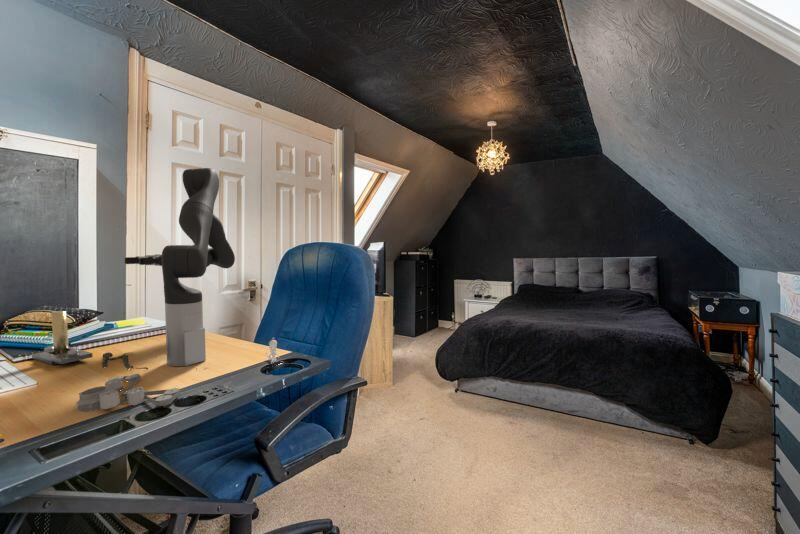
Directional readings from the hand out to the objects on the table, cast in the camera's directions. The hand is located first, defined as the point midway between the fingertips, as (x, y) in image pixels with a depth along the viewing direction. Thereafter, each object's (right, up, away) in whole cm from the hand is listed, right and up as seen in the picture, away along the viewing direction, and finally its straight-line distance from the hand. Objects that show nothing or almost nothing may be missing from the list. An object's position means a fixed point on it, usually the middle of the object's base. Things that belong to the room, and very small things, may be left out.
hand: (132, 261), depth 121 cm
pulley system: (+26, -31, -39) cm, 56 cm away
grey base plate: (-11, -29, -13) cm, 33 cm away
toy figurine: (+50, -29, -14) cm, 60 cm away
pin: (-11, -29, -13) cm, 33 cm away
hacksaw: (+9, -30, -15) cm, 35 cm away
